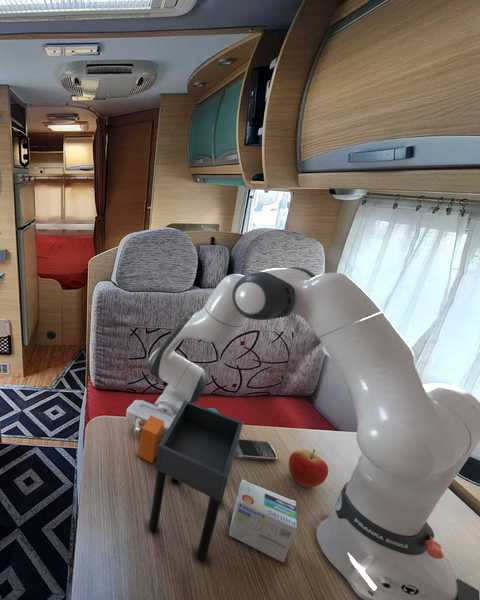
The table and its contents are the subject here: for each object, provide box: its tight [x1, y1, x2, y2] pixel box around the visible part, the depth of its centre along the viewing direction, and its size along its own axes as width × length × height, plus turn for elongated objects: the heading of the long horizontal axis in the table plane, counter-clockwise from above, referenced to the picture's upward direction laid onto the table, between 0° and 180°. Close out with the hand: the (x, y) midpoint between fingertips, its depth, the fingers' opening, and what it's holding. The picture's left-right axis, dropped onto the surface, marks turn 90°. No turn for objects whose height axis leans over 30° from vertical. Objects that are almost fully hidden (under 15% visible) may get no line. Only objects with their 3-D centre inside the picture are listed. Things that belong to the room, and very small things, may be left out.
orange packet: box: [138, 416, 164, 464], centre depth 90 cm, size 4×6×10 cm, turn 146°
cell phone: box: [235, 438, 278, 462], centre depth 92 cm, size 6×11×1 cm, turn 84°
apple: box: [288, 448, 329, 488], centre depth 82 cm, size 8×8×10 cm
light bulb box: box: [228, 478, 298, 564], centre depth 69 cm, size 11×7×11 cm, turn 59°
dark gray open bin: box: [154, 401, 244, 503], centre depth 67 cm, size 13×17×6 cm
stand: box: [148, 470, 227, 563], centre depth 72 cm, size 12×16×18 cm
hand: (150, 439), depth 89 cm, fingers open, 7 cm apart
